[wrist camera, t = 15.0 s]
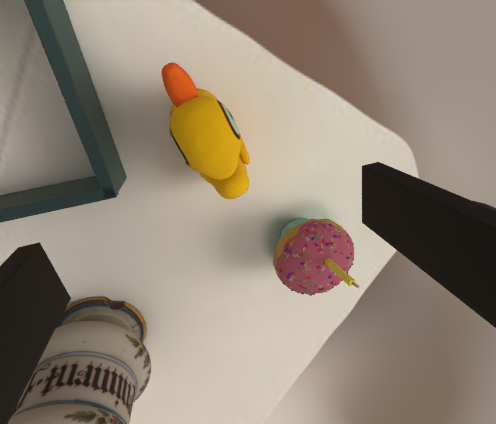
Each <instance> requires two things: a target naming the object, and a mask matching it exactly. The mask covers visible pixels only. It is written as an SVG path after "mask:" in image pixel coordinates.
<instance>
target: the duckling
mask: <svg viewBox="0 0 496 424" xmlns="http://www.w3.org/2000/svg"><path fill="white" fill-rule="evenodd" d="M162 78H163V82H164V86H165V89H166V91H167V93H168V95H169V97H170V99H171V101H172V102H173V105H172V107H171V121H170V134H171V138H172V141H173V144H174V146H175V148H176V150H177V152H178V154H179V155H180V157H181V158H182V159H183V160H184V162H185V163H186V164H187V165H188V166H189V167H191V168H192V169H194V170H195V171H197V172H199V173H200V174H201V176H202V177H203V178H204V179H205V180H206V181H207V182H209V183H211V184H212V185H213V186H214V188H215V189H216V190H217V192H218V193H219V194H220V195H221V196H222V197H224V198H226V199H234V198H236V197H239V196H241V195H242V194H244V193H245V192H246V191H247V189H248V187H249V179H248V175H247V171H246V166H245V164H247V165H249V156H248V152H247V150H246V147H245V145H244V143H243V140H242V138H241V136H240V133H239V130H238V128H237V125H236V123H235V121H234V119H233V117H232V115H231V114H230V112H229V111H228V110H227V108H226V107H225V106H224V105H223V104H222V103H220V102H219V101H218V100H217V99H216V98H215V97H214V96H213V95H212V94H211V93H209V92H208V91H205V90H202V89H197V88H196V86H195V84H194V83H193V81H192V79H191V78H190V76H189V75H188V74H187V73H186V72H185V70H183V69H182V68H181V67H180V66H179V65H178V64H176V63H169V64H167V65H165V66H164V67H163V68H162Z"/></svg>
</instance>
